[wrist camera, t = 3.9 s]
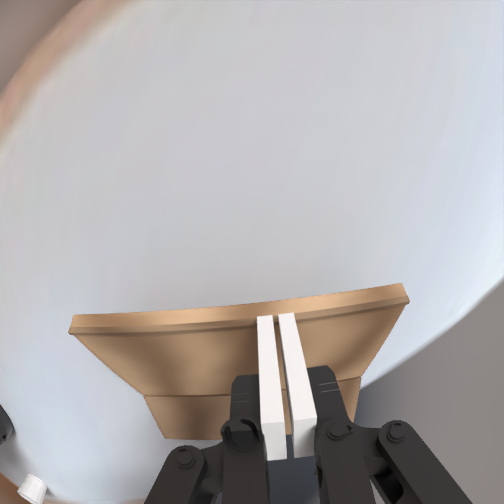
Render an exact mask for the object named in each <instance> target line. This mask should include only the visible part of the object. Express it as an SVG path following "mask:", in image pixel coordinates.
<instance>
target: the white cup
mask: <svg viewBox="0 0 504 504" xmlns="http://www.w3.org/2000/svg"><path fill="white" fill-rule="evenodd" d="M46 489H47V485H46V484H45V483H44V482H42V481H41V480H39V479H38V478H36V477H35V476H33V475H30V474H28V475H27V477H26V478H25V480H24V481H23V483H22V484H21V486H20V488H19V489H18V491H17V492H18V493H19V494H20V495H21V496H22V497H23V498H24V499H26V500H27V501H29V502H31V503H32V504H43V500H44V497H45V493H46Z"/></svg>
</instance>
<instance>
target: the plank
mask: <svg viewBox="0 0 504 504" xmlns="http://www.w3.org/2000/svg"><path fill="white" fill-rule="evenodd" d="M409 302H410V300H409V298H408V296H407V294H406V292H405V290H404V287H403V285H402V283H398V284H392V285H386V286H380V287H374V288H368V289H361V290H354V291H348V292H341V293H333V294H326V295H319V296H311V297H303V298H295V299H287V300H278V301H269V302H260V303H251V304H241V305H230V306H219V307H208V308H195V309H182V310H168V311H152V312H134V313H112V314H81V315H73V319H72V322H71V326H70V328H69V331H68V333H69V334H70V335H74V336H75V337H76V338H77V339H78V340H79V341H80V342H81V343H82V344H83V345H84V346H85V347H86V348H87V349H88V350H90V351H91V352H92V353H93V354H94V355H95V356H96V357H97V358H98V359H99V360H101V361H102V362H103V363H104V364H105V365H106V366H107V367H109V368H110V369H111V370H112V371H113V372H114V373H116V374H117V375H118V376H119V377H120V378H122V379H123V380H124V381H125V382H127V383H128V384H129V385H130V386H132V387H133V388H134V389H135V390H137V391H138V392H139V393H141V394H142V395H215V394H231V387H232V383H233V381H234V380H235V378H236V377H237V376H238V375H252V374H259V357H258V330H257V317H258V316H268V315H272V317H273V325H274V333H275V342H276V350H277V359H278V368H279V376H280V385H281V389H286V385H285V378H284V370H283V363H282V355H281V342H280V329H279V317H278V314H286V313H294V317H295V321H296V325H297V330H298V334H299V338H300V343H301V347H302V351H303V356H304V360H305V364H306V368H309V367H316V366H323V365H327V366H328V367H329V368H330V369H331V370H332V371H333V372H334V373H335V376H336V380H337V381H338V380H344V379H349V378H354V377H358V376H362V375H363V374H364V372H365V371H366V369H367V368H368V366H369V365H370V363H371V362H372V360H373V359H374V357H375V356H376V354H377V353H378V351H379V350H380V348H381V346H382V345H383V343H384V342H385V340H386V338H387V337H388V335H389V333H390V332H391V330H392V328H393V327H394V325H395V323H396V321H397V320H398V318H399V316H400V314H401V313H402V311H403V309H404V307H405V305H406V304H409Z"/></svg>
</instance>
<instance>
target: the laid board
mask: <svg viewBox="0 0 504 504" xmlns="http://www.w3.org/2000/svg"><path fill="white" fill-rule="evenodd" d="M337 383H338V386H339V390H340V392H341V395H342V398H343V402H344V405H345V408H346V411H347V415H348V417H349V419H350V420H351V421H352V422H353V420H354V415H355V411H356V406H357V400H358V395H359V389H360V384H361V376H358V377H354V378H349V379H344V380H338V381H337ZM281 394H282V403H283V412H284V422H285V435H287V434H292V432H291V424H290V416H289V408H288V401H287V393H286V389H281ZM143 397H144V399H145V401H146V403H147V405H148V407H149V409H150V411H151V413H152V415H153V417H154V419H155V421H156V423H157V425H158V427H159V429H160V431H161V432H162V434H163V436H164V438H165V439H188V440H218V439H222V436H221V433H220V431H221V427H222V425H223V424H224V423H225V422H226V421H228V420H229V418H230V403H231V394H215V395H144V396H143Z"/></svg>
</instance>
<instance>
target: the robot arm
mask: <svg viewBox="0 0 504 504" xmlns="http://www.w3.org/2000/svg"><path fill="white" fill-rule="evenodd" d="M278 317H279V329H280V342H281V355H282V363H283V370H284V378H285V385H286V393H287V401H288V408H289V416H290V424H291V432H292V440H293V448H294V457H295V458H296V457H297V458H298V457H305V456H312V455H314V453H315V458H316V466H315V475H317V482H318V490H319V497H320V504H376V502H375V498H374V494H373V490H372V486H371V482H370V480H371V481H372V483H373V484H374V486H375V488H376V489H377V491H378V493H379V494H380V496H381V497H382V499H383V501H384V502H385V504H472V502H471V501H470V500H469V499H468V497H467V496H466V495H465V494H464V492H463V491H462V490H461V488H460V487H459V486H458V484H457V483H456V482H455V480H454V479H453V478H452V477H451V475H450V474H449V473H448V472H447V470H446V469H445V468H444V467H443V465H442V464H441V463H440V461H439V460H438V459H437V458H436V457H435V455H434V454H433V453H432V451H431V450H430V449H429V448H428V446H427V445H426V444H425V443H424V441H422V439H421V438H420V437H419V435H418V434H417V433H416V431H415V430H414V429H413V428H412V427H411V426H410V425H409V424H408V423H406V422H404V421H401V420H393V421H390V422H387V423H386V424H384V425H383V426H382V428H365V427H360V426H358V425H356V424H354V423H353V422H352V421H351V420H350V419H349V417H348V415H347V411H346V408H345V405H344V402H343V398H342V395H341V392H340V390H339V386H338V383H337V380H336V376H335V373H334V372H333V371H332V370H331V369H330V368H329V367H328V366H327V365H323V366H316V367H309V368H306V364H305V360H304V356H303V351H302V347H301V343H300V338H299V334H298V330H297V325H296V321H295V317H294V313H286V314H278ZM257 330H258V357H259V374H252V375H238V376H237V377H236V378H235V380H234V381H233V383H232V387H231V403H230V418H229V420H228V421H226V422H225V423H224V424H223V425H222V427H221V431H220V433H221V436H222V439H223V441H222V442H220V443H219V444H217V445H215V446H212V447H208V448H205V449H201V450H199V449H198V448H196V447H194V446H187V445H184V446H180V447H177V448H175V449H174V450H172V451H171V453H170V454H169V455H168V457H167V459H166V461H165V463H164V465H163V467H162V469H161V471H160V473H159V475H158V477H157V479H156V481H155V483H154V485H153V487H152V489H151V491H150V493H149V495H148V497H147V499H146V501H145V502H144V504H215V502H216V499H217V496H218V493H219V492H223V496H222V497H223V498H222V504H271V495H270V481H269V471H268V460H280V459H287V451H286V437H285V422H284V412H283V403H282V394H281V385H280V376H279V368H278V359H277V350H276V342H275V333H274V325H273V317H272V315H268V316H258V317H257ZM12 432H13V426H12V423H11V421H10V419H9V418H8V416H7V415H6V413H5V412H4V410H3V409H2V408H1V406H0V444H2V443H3V442H4V441H6V440H7V439H8V438H9V437H10V435H11V433H12Z"/></svg>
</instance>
